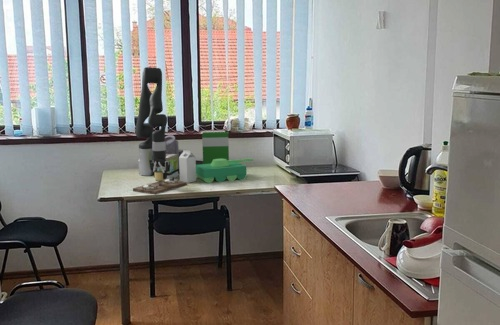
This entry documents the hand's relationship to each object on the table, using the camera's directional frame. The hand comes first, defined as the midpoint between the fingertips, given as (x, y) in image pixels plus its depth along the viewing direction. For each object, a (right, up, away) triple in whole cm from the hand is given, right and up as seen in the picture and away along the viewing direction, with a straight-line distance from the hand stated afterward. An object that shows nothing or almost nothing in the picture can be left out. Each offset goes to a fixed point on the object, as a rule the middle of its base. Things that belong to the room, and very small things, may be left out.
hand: (160, 178), depth 305 cm
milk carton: (+14, -3, +17) cm, 22 cm away
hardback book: (+28, +6, +64) cm, 70 cm away
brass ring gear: (0, -1, 0) cm, 1 cm away
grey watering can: (0, +3, +51) cm, 51 cm away
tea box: (0, -1, +27) cm, 27 cm away
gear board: (0, -5, +1) cm, 5 cm away
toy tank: (+37, -1, +26) cm, 45 cm away
